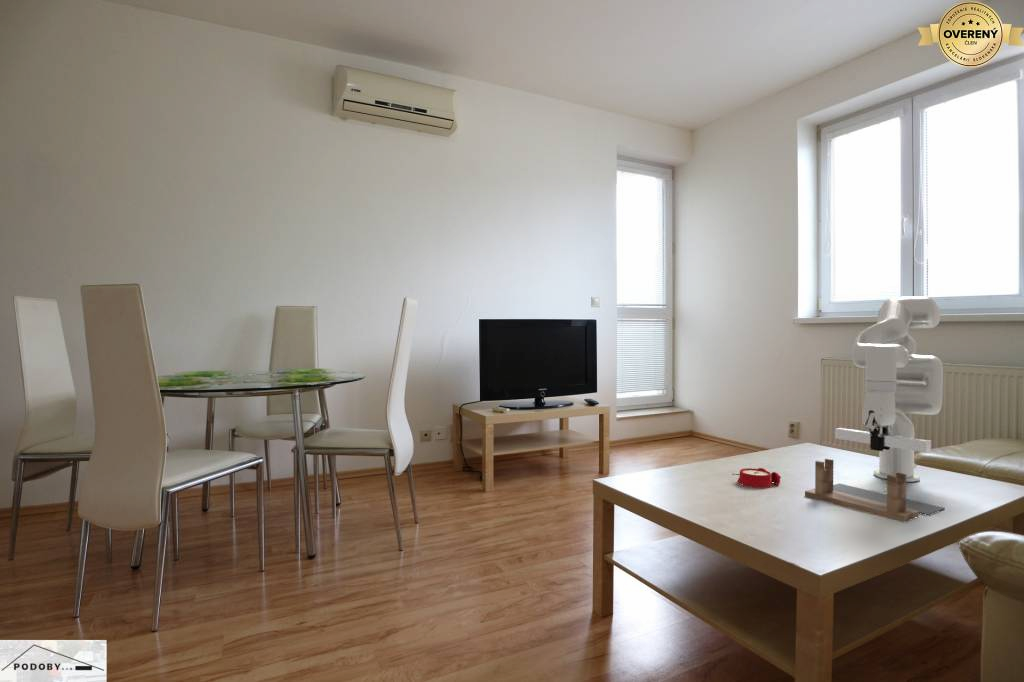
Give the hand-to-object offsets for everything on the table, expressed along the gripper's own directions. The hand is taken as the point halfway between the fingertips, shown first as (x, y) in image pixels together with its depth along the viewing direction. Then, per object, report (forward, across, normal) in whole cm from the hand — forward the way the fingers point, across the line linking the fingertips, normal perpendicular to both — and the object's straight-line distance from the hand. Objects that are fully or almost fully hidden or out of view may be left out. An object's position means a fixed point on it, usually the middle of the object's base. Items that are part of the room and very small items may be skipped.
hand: (879, 448), depth 157 cm
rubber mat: (+15, 0, 0) cm, 15 cm away
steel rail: (-1, 0, 0) cm, 1 cm away
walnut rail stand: (+15, +12, 0) cm, 19 cm away
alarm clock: (+15, +15, -29) cm, 36 cm away
